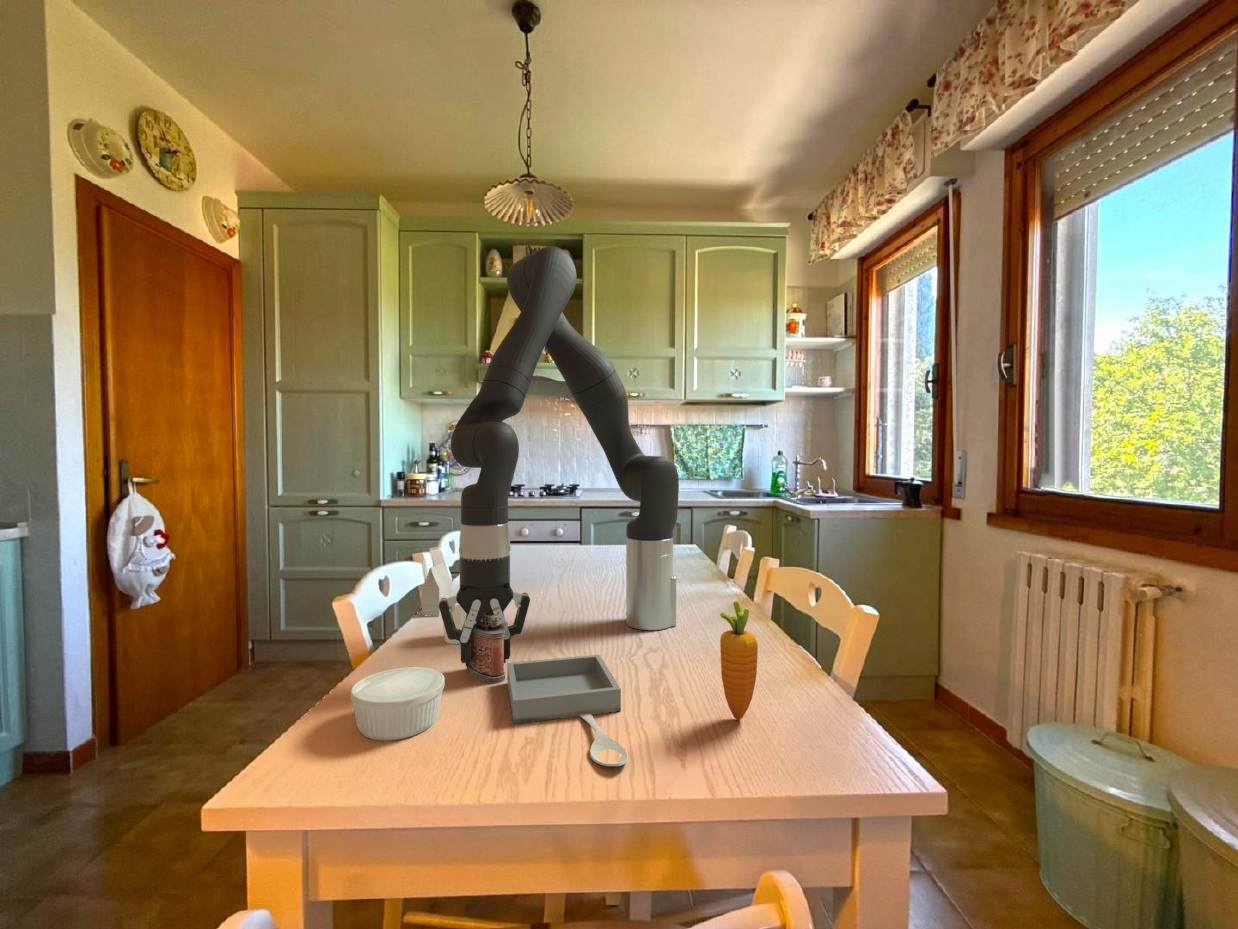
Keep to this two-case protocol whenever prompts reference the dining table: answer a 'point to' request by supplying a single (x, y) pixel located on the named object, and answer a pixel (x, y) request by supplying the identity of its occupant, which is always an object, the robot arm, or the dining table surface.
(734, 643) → the carrot
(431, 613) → the white milk carton
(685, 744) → the dining table surface
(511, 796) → the dining table surface
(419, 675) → the ramekin
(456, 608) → the cream cup
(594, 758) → the spoon
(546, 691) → the tray
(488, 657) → the lighter
